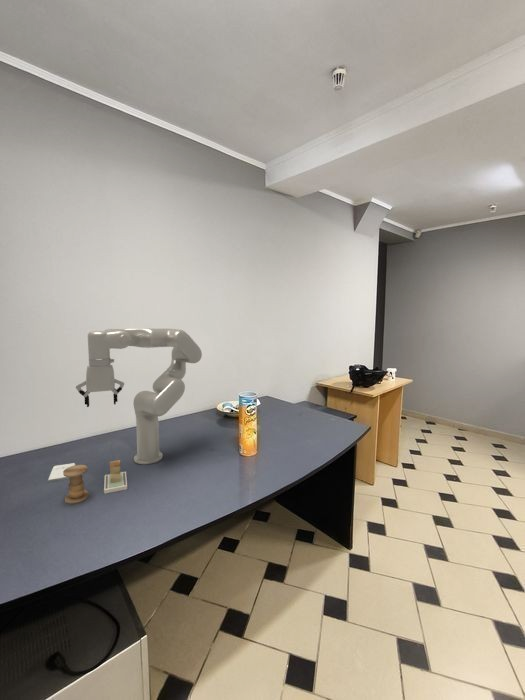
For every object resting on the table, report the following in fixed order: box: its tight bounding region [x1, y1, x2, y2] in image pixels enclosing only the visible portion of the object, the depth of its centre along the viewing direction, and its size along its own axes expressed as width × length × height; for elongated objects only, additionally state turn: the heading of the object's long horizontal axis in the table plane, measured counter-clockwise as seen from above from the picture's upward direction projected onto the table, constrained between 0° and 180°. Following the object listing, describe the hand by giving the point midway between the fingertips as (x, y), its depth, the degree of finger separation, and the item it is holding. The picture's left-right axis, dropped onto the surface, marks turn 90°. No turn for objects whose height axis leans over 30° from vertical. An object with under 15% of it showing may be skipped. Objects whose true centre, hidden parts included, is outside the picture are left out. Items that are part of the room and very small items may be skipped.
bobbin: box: [63, 464, 90, 505], centre depth 121 cm, size 8×8×11 cm
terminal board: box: [103, 471, 128, 495], centre depth 132 cm, size 12×8×2 cm, turn 24°
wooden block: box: [109, 459, 121, 483], centre depth 131 cm, size 4×4×7 cm
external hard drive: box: [47, 462, 76, 483], centre depth 139 cm, size 2×8×12 cm
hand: (101, 404), depth 133 cm, fingers open, 9 cm apart
